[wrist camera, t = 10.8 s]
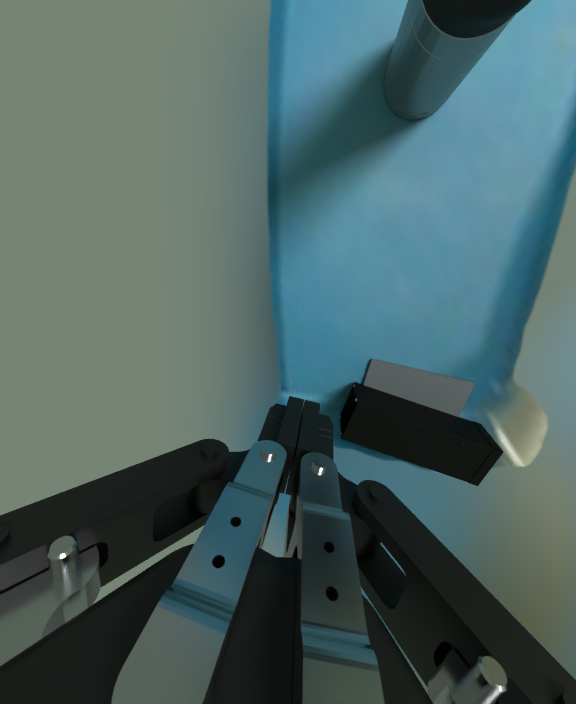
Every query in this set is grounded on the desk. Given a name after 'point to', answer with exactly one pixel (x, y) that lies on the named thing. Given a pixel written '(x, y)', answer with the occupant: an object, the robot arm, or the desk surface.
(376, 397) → the black rectangular bar
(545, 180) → the desk surface
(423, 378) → the rubber mat
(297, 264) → the desk surface
